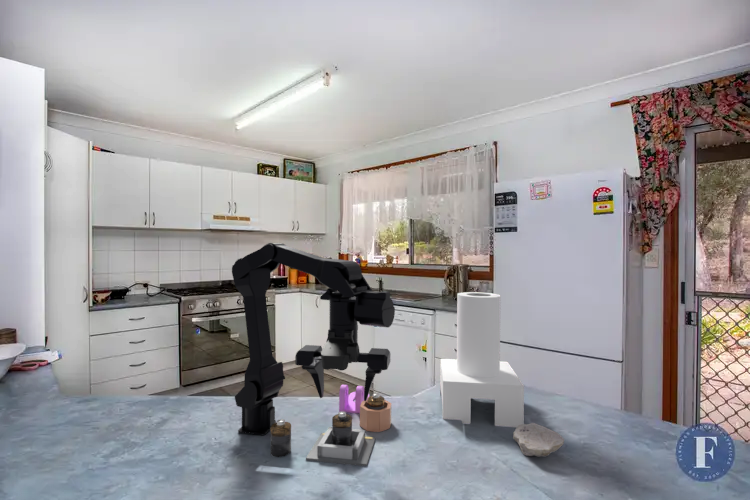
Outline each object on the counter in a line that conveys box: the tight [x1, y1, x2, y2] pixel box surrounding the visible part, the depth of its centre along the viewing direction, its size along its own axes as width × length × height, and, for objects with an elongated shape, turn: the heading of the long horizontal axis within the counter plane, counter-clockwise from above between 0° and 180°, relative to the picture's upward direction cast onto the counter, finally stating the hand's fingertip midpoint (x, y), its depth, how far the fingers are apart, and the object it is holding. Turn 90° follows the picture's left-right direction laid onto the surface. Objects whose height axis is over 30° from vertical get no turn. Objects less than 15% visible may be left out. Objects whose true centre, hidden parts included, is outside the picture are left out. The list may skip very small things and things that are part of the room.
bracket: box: [338, 384, 370, 414], centre depth 101 cm, size 13×6×7 cm, turn 169°
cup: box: [359, 398, 392, 433], centre depth 89 cm, size 7×7×5 cm
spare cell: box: [270, 418, 292, 458], centre depth 77 cm, size 4×4×7 cm
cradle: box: [305, 426, 376, 467], centre depth 78 cm, size 12×10×3 cm
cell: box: [331, 411, 353, 446], centre depth 78 cm, size 4×4×7 cm
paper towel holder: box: [439, 291, 525, 428], centre depth 100 cm, size 19×19×30 cm
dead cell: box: [367, 392, 385, 410], centre depth 89 cm, size 4×4×7 cm
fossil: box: [512, 422, 565, 458], centre depth 79 cm, size 9×6×10 cm
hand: (343, 398), depth 78 cm, fingers open, 9 cm apart
